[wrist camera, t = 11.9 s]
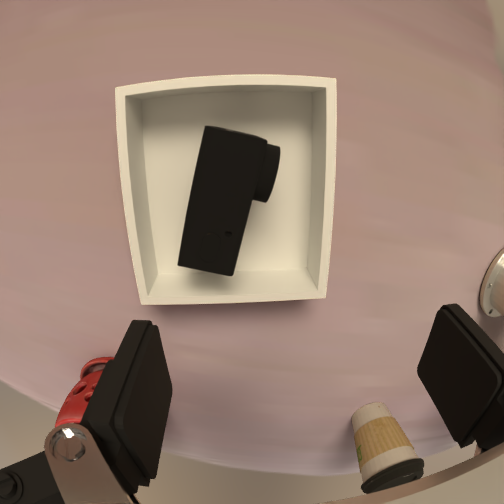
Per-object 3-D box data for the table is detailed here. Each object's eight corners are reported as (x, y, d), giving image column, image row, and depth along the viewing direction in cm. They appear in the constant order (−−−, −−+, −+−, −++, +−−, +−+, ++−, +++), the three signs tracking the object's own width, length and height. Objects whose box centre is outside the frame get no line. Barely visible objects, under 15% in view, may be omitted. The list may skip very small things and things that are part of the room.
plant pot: (85, 396, 39) (62, 455, 28) (80, 335, 34) (44, 402, 23) (164, 419, 41) (154, 484, 30) (176, 363, 37) (162, 441, 26)
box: (317, 86, 25) (336, 78, 20) (312, 270, 32) (325, 297, 27) (136, 93, 24) (115, 87, 19) (154, 276, 32) (141, 304, 27)
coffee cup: (333, 432, 45) (353, 505, 32) (352, 397, 42) (381, 478, 28) (382, 426, 46) (407, 491, 32) (404, 391, 42) (439, 461, 29)
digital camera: (244, 246, 30) (247, 282, 23) (188, 235, 29) (176, 267, 23) (272, 139, 26) (285, 144, 20) (212, 125, 25) (204, 125, 19)
